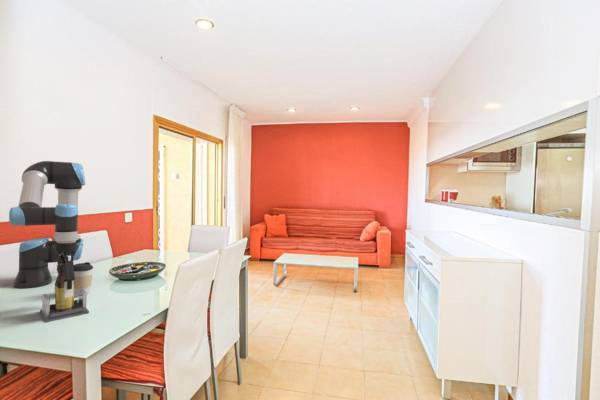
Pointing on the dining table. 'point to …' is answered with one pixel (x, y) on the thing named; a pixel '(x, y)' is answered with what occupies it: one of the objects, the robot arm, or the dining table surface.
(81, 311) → the clip holder
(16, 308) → the dining table surface
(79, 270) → the coffee cup
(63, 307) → the sauce bottle
